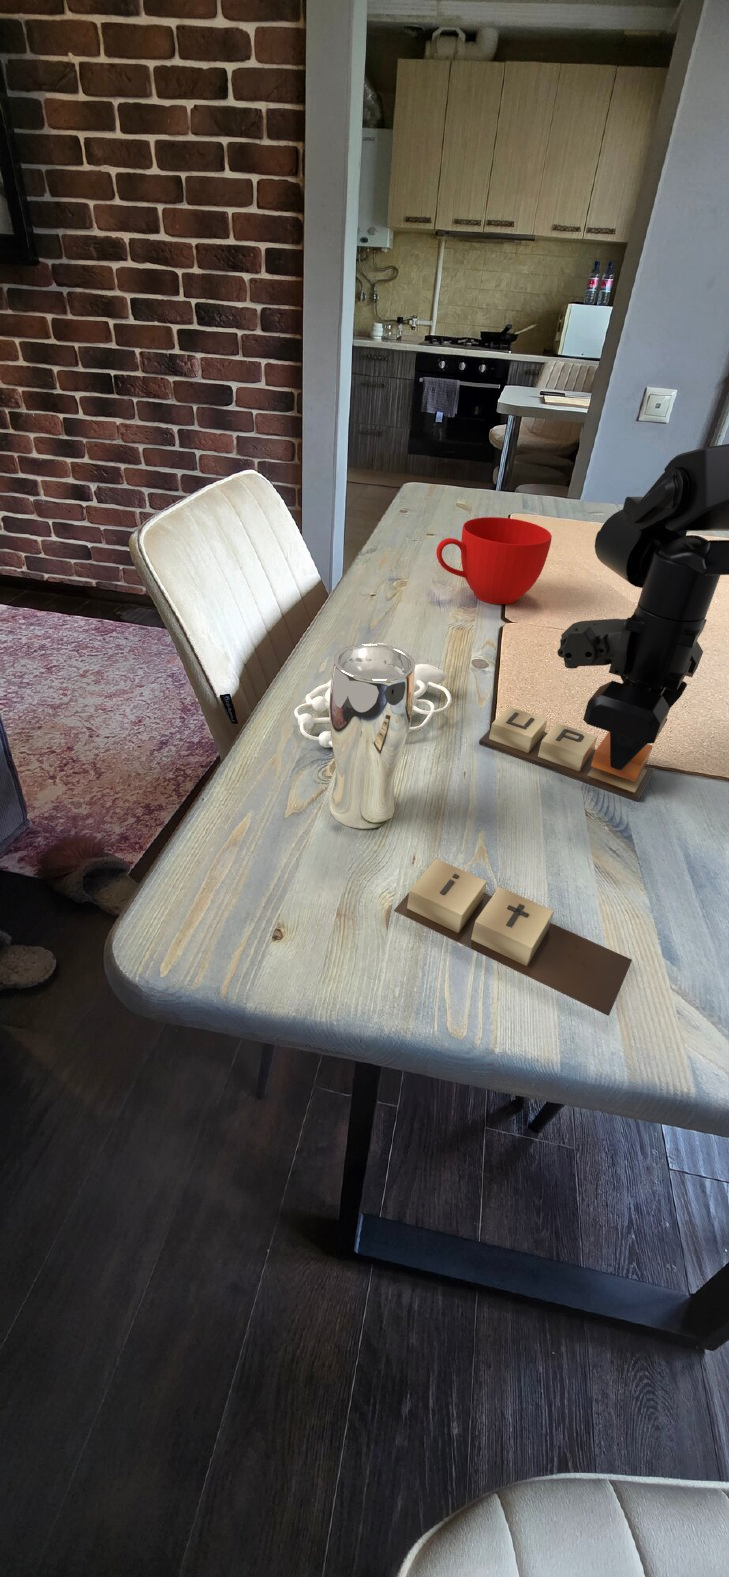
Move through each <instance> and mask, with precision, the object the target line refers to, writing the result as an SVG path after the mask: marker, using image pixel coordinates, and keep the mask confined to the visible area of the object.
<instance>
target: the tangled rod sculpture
mask: <svg viewBox="0 0 729 1577" xmlns="http://www.w3.org/2000/svg"><path fill="white" fill-rule="evenodd" d="M375 644H382V645H387V644H386V643H383V642H376V643H375ZM446 679H447V674H446V672H445V671H444V670H441V669H440V668H438V667H436V666H434V665H432V664H428V663H420V664H419V663H418V664H416V663H415V674H414V701H413V711H412V715H413V714H414V713H417V714H420V715H424V716H426V717H425V719H424V721H423V722H422V723H421V724H419V725H417V726H410V728H409V732H418V731H421V730H423V729H424V728H425V727H426V726H427V725H428V724H429V722H430V721H431V719H432V718H433V716H434V715H438V714H442V713H444V712H447V711H448V709H449V708H450V707H451V705H452V700H453V698H452V695H451V693H450V691H449V690H448V689H447V687H445V686H443V685H440V684H442V683H443V682H445V680H446ZM331 681H332V678H331V679H330V680H329V681H327V683H324V684H321V685H319V686H317V687H315V688H314V689H313V690H312V691H311V692H308V693H307V694H306V695H305V699H304V700H305V703H302V704H300V705H298V706H297V707H295V709H294V712H293V713H294V717H295V718H296V719H297V724H298V727H299V731H300V733H301V735H302V736H303V737H305V738H306V739H309V740H311V741H315V742H318V744H319V745H320V746H321V747H322V748H324V749H325V748H326V749H329V748H333V747H332V740H331V733H330V730H329V731H328V730H325V731H322V732H320V734H319V735H318V736H314V735H311V734H309V733H307V732H306V731H305V730H310V729H312V728H313V727H314V725H315V724H330V722H329V716H328V717H313V715H312V714H310V713H308V712H306V713H305V712H304V713H301V714H299V712H300V711H302V710H303V709H305V708H307V707H312V708H313V710H314V711H316V712H318V713H321V712H322V713H323V712H324V711H326V710H327V711H328V712H329V701H330V689H331ZM430 687H431V688H434V689H437V690H440V691H442V692H443V693H444V694H445V695H446V697H447V701H446V704H445V705H444V706H443V707H440V708H437V709H436V707H435V704H434V703H433V702H432V701H430V700H428V699H419V698H420V697H422V696H424V694H426V691H427V689H428V688H430ZM322 692H325V694H324V696H323V695H320V694H321V693H322ZM421 704H423V705H427V706H428V707H430V710H425V709H421V708H419V707H417V706H418V705H421Z"/></svg>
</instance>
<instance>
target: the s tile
mask: <svg viewBox="0 0 729 1577" xmlns="http://www.w3.org/2000/svg"><path fill="white" fill-rule="evenodd" d="M595 750H596V751H595V755H594V758H593V761H592V764H591V766H592V767H594V768H597V769H600V770H603V771H605V772H608V773H611V774H614V775H617V776H619V777H622V778H625V779H628V780H631V781H633V782H636V781H637V779H638V777H639V775H640V774H641V772H642V770H643V768H644V767H646V765H647V763H648V761H649V758H650V755H651V753H652V750H653V745H652V744H650V743H649V744H647V745H646V746H645V747H644V748H643V749H642V750H641V751H639V753H638V754H637V755H636V756H635V757H634V758H633V759H632V760H631V761H630V762H629V763H628V764H627V765H626V766H625V767H624V768H623V769H622V770H617V769H614V768H612V767H611V766H610V732H609V731H607V733H606V735H605V736H604V737H603V739H602V740H601V742H600V743H599V745H598V746H597V748H595Z"/></svg>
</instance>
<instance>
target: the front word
mask: <svg viewBox="0 0 729 1577" xmlns="http://www.w3.org/2000/svg"><path fill="white" fill-rule="evenodd" d="M487 884H488V881H487V880H485V879H483V878H481V877H478V876H476V875H475V874H472V873H470V872H467V871H466V870H463V869H461V868H458V867H457V866H455V865H451V864H450V863H447V862H445V861H442V860H441V859H438V858H436V859H434V860H433V862H432V863H431V864H430V865H429V866H428V868H427V869H426V870H425V871H424V873H423V874H422V875H421V876H420V877H419V878H418V880H417V881H416V882H415V883H414V884H413V886H412V887H411V888H410V889H409V892H408V893H407V894H406V895H405V896H404V898H402V900H401V901H400V902H399V903H398V905H396V907H395V908H394V910H393V912H394V913H397V914H399V915H401V916H403V917H405V918H407V919H409V920H411V921H413V922H415V923H417V924H419V925H422V926H424V927H425V928H428V929H430V930H431V931H434V932H436V933H438V934H440V935H442V936H443V937H446V938H447V939H450V940H452V941H455V942H456V943H458V944H460V945H462V946H464V947H466V948H469V949H471V950H473V951H474V952H476V953H479V954H481V955H483V956H485V957H487V958H489V959H491V960H493V961H494V962H497V963H499V964H501V965H503V966H505V967H508V968H509V969H511V970H513V971H516V972H518V973H520V974H522V975H524V976H526V977H527V978H530V979H532V980H534V981H536V982H538V983H540V984H542V985H544V986H546V987H548V988H550V989H552V990H555V991H557V992H558V993H561V994H562V995H565V996H567V997H569V998H571V999H573V1000H575V1001H577V1002H579V1003H581V1004H583V1005H585V1006H587V1007H590V1008H591V1009H593V1010H596V1011H597V1012H600V1013H602V1014H603V1015H605V1016H608V1017H609V1016H610V1014H611V1011H612V1009H613V1006H614V1004H615V1001H616V999H617V997H618V995H619V992H620V990H621V988H622V985H623V982H624V980H625V977H626V976H627V973H628V971H629V968H630V966H631V964H632V961H633V960H632V958H630V957H627V956H625V955H622V954H621V953H619V952H617V951H614V950H612V949H609V948H608V947H605V946H603V945H601V944H599V943H596V942H594V941H592V940H590V939H587V938H585V937H583V936H581V935H579V934H576V933H574V932H572V931H569V930H567V929H565V928H563V927H561V926H558V925H557V924H554V923H552V920H553V918H554V917H553V916H554V913H555V911H554V910H553V909H551V908H549V907H546V906H544V905H542V904H540V903H537V902H535V901H533V900H530V899H528V898H526V897H524V896H522V895H519V894H517V893H516V892H513V891H511V890H509V889H505V888H503V887H501V886H499V887H497V889H496V891H495V892H494V894H493V895H491V894H488V893H485V892H486V888H487Z"/></svg>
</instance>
